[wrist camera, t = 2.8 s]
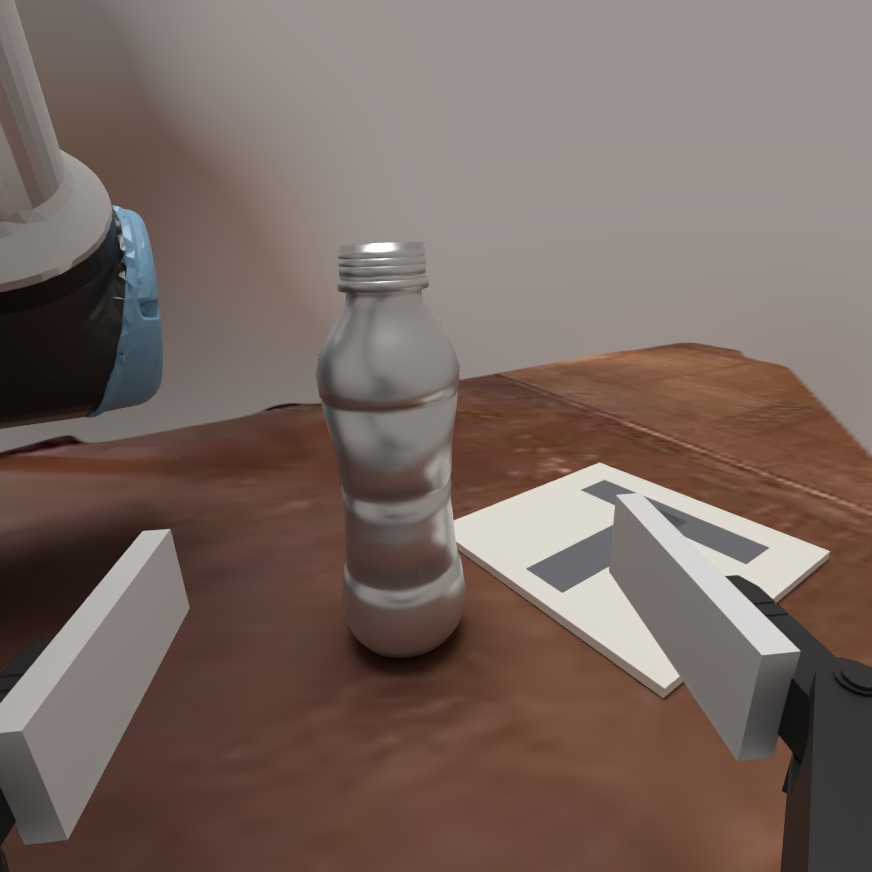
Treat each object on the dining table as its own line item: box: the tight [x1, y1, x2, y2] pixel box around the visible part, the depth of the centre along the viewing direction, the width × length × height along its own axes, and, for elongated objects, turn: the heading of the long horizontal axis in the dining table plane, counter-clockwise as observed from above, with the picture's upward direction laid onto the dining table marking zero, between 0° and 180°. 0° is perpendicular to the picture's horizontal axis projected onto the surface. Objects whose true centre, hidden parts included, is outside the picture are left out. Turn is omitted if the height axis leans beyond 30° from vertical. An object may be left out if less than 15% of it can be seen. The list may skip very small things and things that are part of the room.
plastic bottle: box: [316, 242, 466, 658], centre depth 25 cm, size 6×7×20 cm
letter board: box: [454, 463, 830, 698], centre depth 36 cm, size 18×18×1 cm
